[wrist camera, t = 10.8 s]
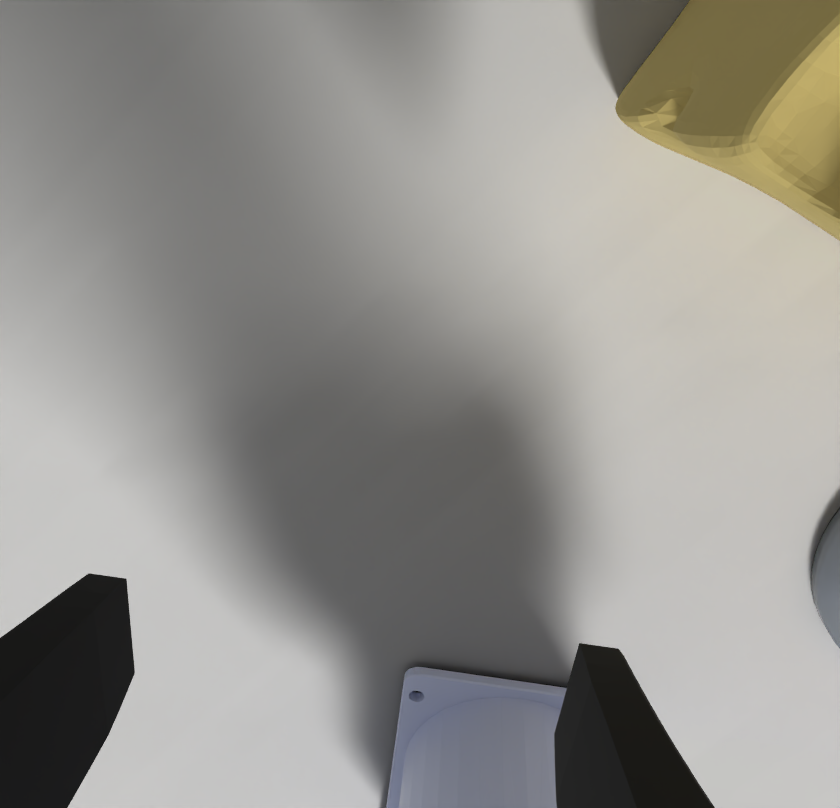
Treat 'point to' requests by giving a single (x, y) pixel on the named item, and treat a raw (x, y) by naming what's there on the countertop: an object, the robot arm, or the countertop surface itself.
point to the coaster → (828, 578)
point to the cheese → (750, 97)
